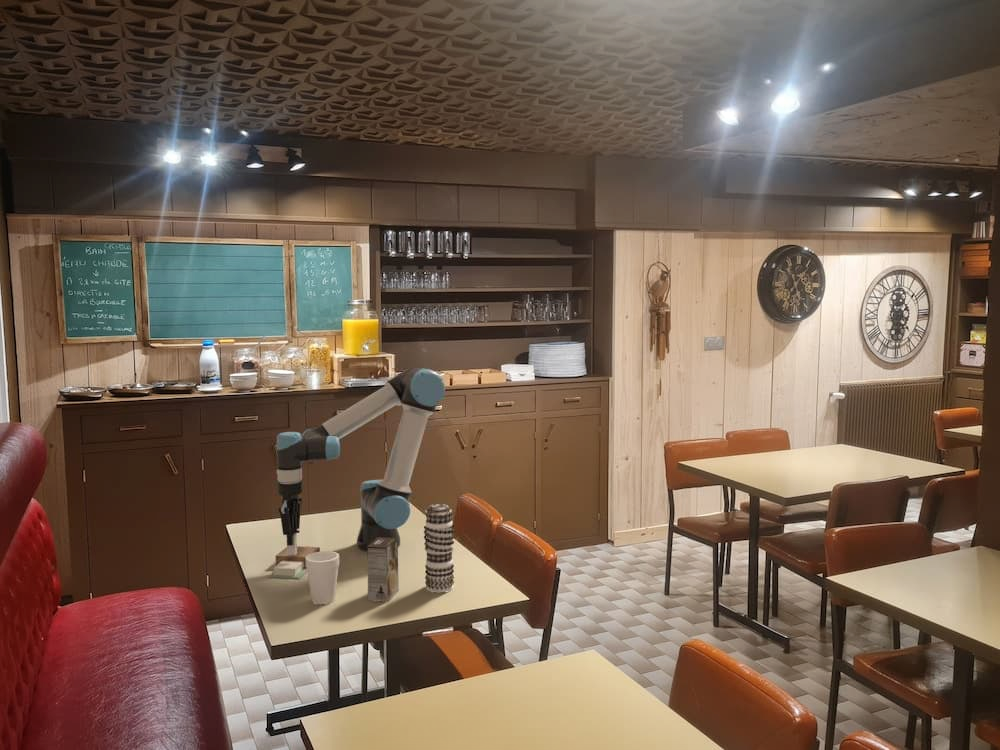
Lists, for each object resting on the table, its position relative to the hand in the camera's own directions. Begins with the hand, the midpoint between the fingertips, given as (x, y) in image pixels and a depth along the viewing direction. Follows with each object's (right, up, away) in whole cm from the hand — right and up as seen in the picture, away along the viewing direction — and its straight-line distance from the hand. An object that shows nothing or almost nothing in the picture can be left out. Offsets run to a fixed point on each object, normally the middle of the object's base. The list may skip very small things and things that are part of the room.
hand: (292, 553), depth 245 cm
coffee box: (+32, -7, -21) cm, 39 cm away
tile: (0, -5, -2) cm, 5 cm away
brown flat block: (0, -5, +6) cm, 8 cm away
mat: (0, -6, -3) cm, 6 cm away
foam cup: (+16, -8, -25) cm, 30 cm away
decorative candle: (+48, -7, -15) cm, 51 cm away
